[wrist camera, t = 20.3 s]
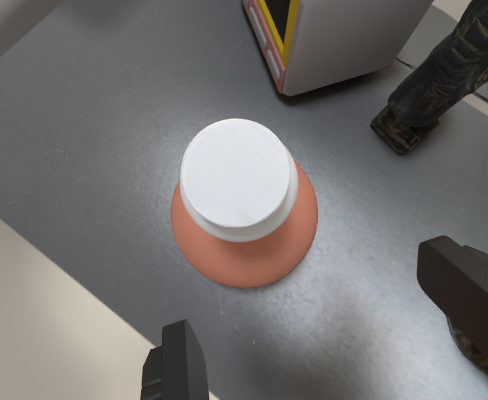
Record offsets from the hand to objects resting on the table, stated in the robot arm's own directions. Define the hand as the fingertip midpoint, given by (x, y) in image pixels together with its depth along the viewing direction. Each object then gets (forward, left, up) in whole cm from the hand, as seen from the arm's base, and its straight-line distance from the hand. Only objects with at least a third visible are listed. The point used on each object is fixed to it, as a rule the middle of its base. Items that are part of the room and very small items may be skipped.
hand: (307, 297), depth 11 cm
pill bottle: (+3, +6, -13) cm, 15 cm away
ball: (+3, +7, -27) cm, 28 cm away
